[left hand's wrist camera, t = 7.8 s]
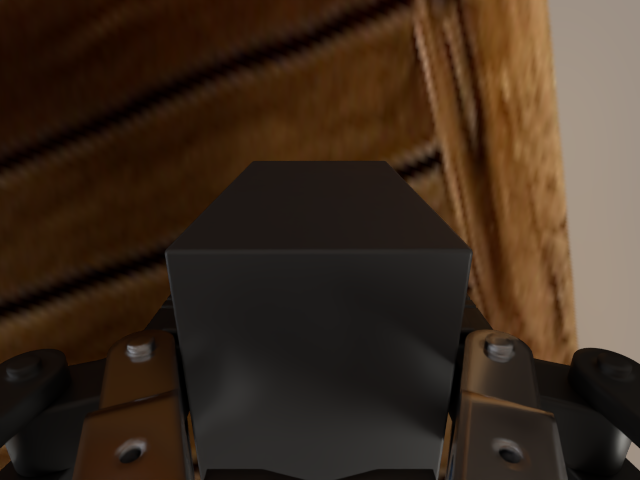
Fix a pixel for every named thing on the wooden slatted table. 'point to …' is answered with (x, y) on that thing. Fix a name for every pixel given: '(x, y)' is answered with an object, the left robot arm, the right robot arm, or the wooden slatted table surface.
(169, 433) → the left robot arm
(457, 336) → the bar
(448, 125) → the wooden slatted table surface
